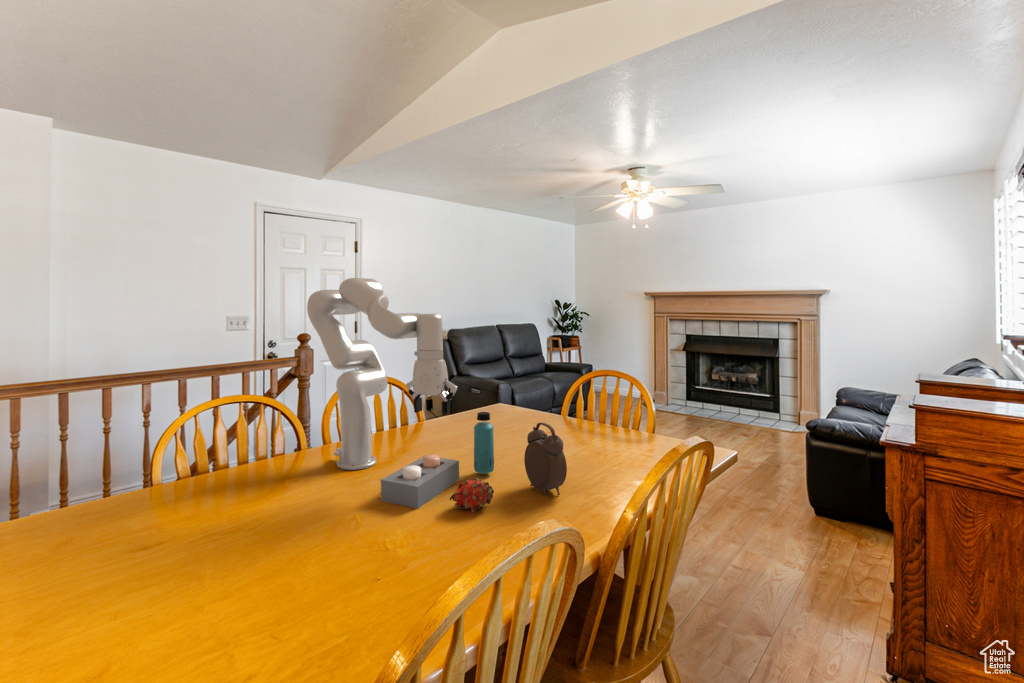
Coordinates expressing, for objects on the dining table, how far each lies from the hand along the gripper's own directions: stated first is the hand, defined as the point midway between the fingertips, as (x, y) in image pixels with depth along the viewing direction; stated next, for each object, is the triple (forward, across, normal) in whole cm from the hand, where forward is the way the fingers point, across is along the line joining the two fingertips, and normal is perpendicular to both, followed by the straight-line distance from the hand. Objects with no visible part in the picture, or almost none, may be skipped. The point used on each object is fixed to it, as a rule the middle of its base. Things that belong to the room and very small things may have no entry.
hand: (431, 412), depth 140 cm
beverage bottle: (+22, +10, +13) cm, 28 cm away
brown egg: (+18, -1, 0) cm, 18 cm away
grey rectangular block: (+22, -1, -5) cm, 22 cm away
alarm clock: (+23, +32, +9) cm, 40 cm away
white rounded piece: (+18, 0, -10) cm, 20 cm away
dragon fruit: (+22, +18, -10) cm, 31 cm away
